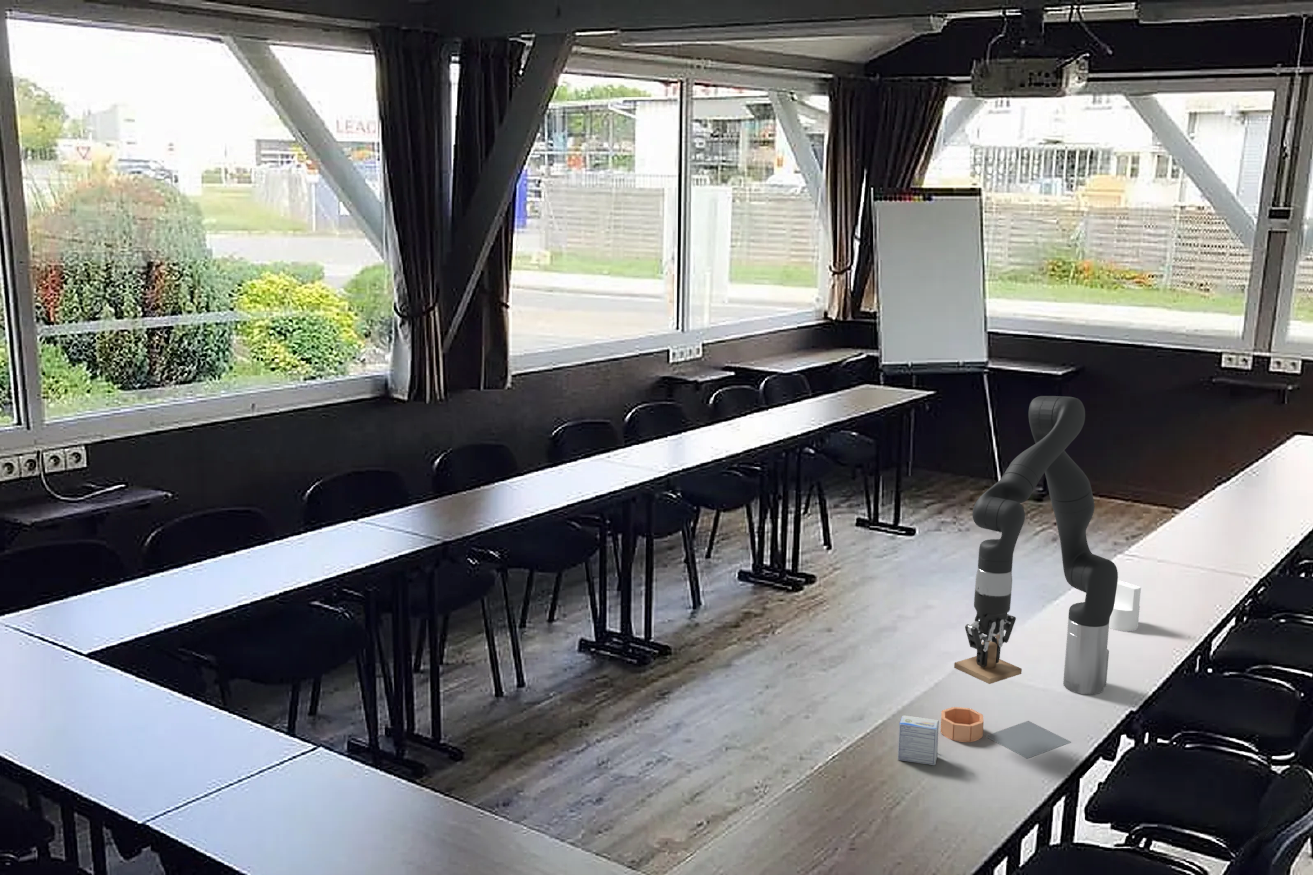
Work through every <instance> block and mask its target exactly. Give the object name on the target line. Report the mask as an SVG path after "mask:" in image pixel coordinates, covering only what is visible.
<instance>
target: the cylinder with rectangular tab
mask: <svg viewBox="0 0 1313 875" xmlns="http://www.w3.org/2000/svg"><path fill="white" fill-rule="evenodd" d="M1141 590H1142V586H1139V585H1136V584H1133V583H1131V582H1126V581H1123V580H1120V579H1118V582H1117V589H1116V596H1115V603H1114V608H1113V611H1112V614H1111V616H1110V620H1109V630H1113V631H1118V632H1134V631H1136V630H1138V629H1139V620H1140V618H1139V617H1140V608H1141V606H1140V602H1141Z"/></svg>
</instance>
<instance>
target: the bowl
mask: <svg viewBox="0 0 1313 875" xmlns="http://www.w3.org/2000/svg"><path fill="white" fill-rule="evenodd" d="M940 712H941V714H940V733H941V735H943V737H945V738H947V739H949V740H952V741H955V742H959V743H973V742H977V741H979V740H980V739H982V738H983V736H984V735H983V734H984V714H982V713H980V712H979V711H976V710H974V709H973V708H970V707H960V706H959V707H958V706H951V707H949V708H946V709H943V710H941V711H940Z"/></svg>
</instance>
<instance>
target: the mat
mask: <svg viewBox="0 0 1313 875" xmlns="http://www.w3.org/2000/svg"><path fill="white" fill-rule="evenodd" d="M984 737H986V738H987V739H989V740H991V741H992V742H995V743H996V744H998V745H999V746H1002V747H1004V748H1005V749H1008V750H1010V751H1012V752H1013V753H1015V754H1018V755H1019V756H1021V757H1023V758H1025V759H1031V758H1032V757H1036V756H1039V755H1041V754H1044V753H1046V752H1049V751H1052V750H1054V749H1057V748H1060V747H1062V746H1065V745H1068V744H1071V743H1072V740H1068V739H1066V738H1065V737H1062V736H1061V735H1059V734H1056V733H1054V732H1052V731H1051V730H1048V729H1046V728H1044V727H1042V726H1041V725H1038V724H1037V723H1034V722H1033V721H1030V720H1026V721H1024V722H1020V723H1018V724H1016V725H1012V726H1009V727H1006V728H1004V729H1001V730H999V731H996V732H992V733H989V734H987V735H984Z"/></svg>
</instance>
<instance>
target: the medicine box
mask: <svg viewBox="0 0 1313 875" xmlns="http://www.w3.org/2000/svg"><path fill="white" fill-rule="evenodd" d="M939 729H940V722H939V720H938V719H932V718H927V717H920V716H919V717H918V716H911V715H905V714H904V715H902V716H901V719H900V721H899V724H898V745H897V746H898V750H897V761H902V762H903V761H904V762H910V763H917V764H923V765H929V766H936V764H937V763H936V762H937V758H938V747H939Z"/></svg>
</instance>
